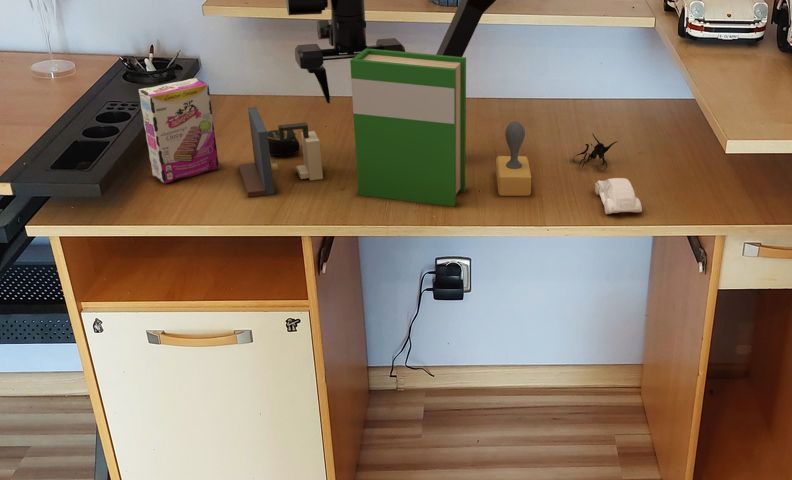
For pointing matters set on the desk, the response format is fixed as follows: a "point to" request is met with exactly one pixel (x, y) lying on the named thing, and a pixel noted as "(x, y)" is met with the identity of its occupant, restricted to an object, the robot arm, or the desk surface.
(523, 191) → the rubber stamp
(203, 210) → the desk surface
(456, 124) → the hardback book
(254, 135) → the door
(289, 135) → the tape measure
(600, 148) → the creature
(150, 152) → the candy bar box
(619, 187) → the white toy vehicle
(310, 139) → the hanger
